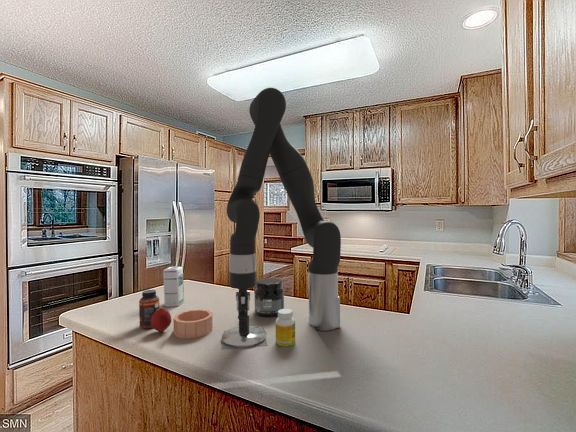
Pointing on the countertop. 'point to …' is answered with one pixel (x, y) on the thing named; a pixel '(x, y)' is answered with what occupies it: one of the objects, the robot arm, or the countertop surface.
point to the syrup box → (173, 286)
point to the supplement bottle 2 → (285, 328)
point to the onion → (161, 319)
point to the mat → (251, 346)
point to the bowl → (193, 323)
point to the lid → (244, 336)
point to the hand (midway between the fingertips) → (243, 326)
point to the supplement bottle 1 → (147, 308)
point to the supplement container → (269, 297)
